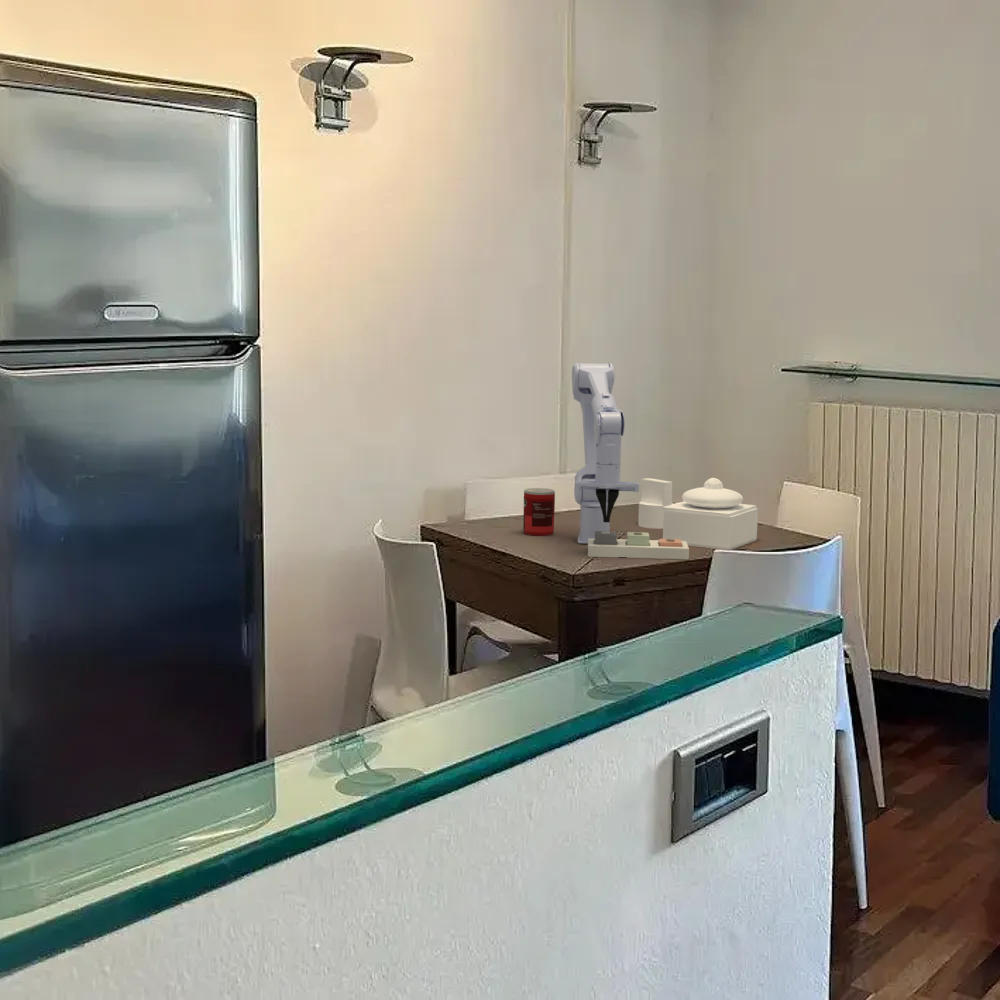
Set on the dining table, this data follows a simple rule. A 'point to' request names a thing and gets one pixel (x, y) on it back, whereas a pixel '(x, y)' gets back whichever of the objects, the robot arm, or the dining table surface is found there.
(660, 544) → the key terracotta
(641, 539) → the key sage
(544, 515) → the canned food
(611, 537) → the key charcoal
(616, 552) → the keypad housing
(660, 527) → the cylinder with rectangular tab
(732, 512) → the white block with dome
